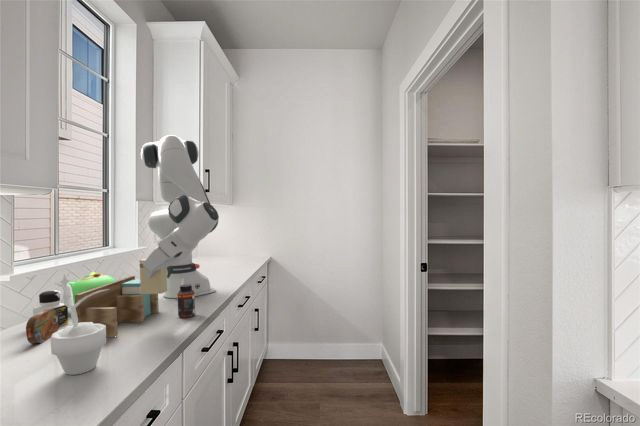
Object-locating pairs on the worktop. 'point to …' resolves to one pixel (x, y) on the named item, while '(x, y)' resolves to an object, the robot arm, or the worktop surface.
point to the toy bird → (89, 283)
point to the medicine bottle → (52, 305)
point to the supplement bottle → (186, 301)
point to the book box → (153, 281)
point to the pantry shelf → (112, 306)
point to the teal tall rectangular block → (135, 289)
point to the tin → (42, 326)
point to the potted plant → (77, 338)
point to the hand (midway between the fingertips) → (151, 274)
